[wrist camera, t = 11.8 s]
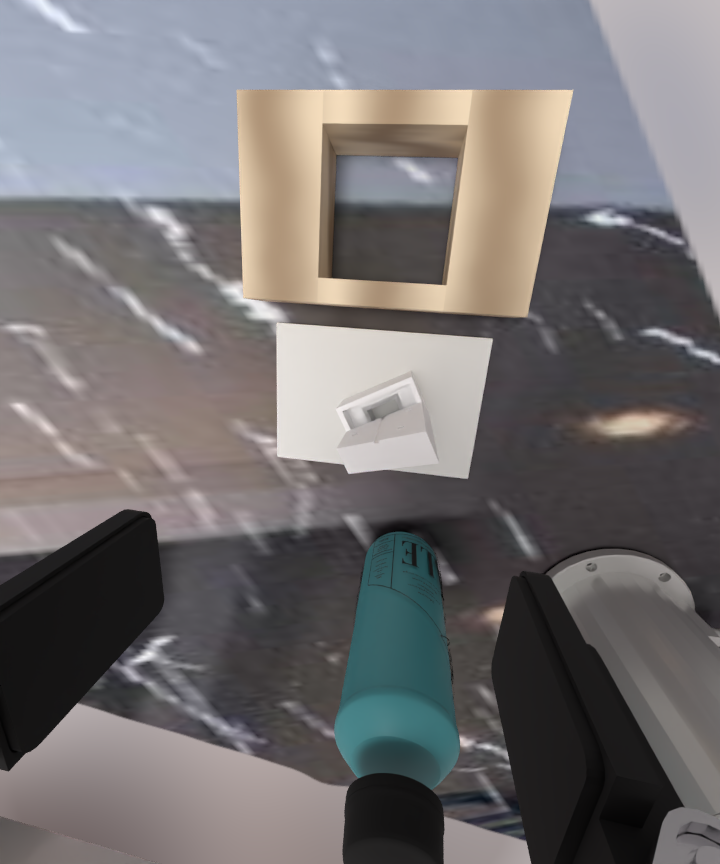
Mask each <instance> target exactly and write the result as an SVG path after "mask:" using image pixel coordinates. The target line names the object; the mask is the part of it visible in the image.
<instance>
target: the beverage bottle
mask: <svg viewBox="0 0 720 864" xmlns="http://www.w3.org/2000/svg"><path fill="white" fill-rule="evenodd" d="M433 551H434V550H432V549H431V547H430V546H429V545H428V544H427V542H425V541H424V540H423V539H422V538H420V537H418V536H416V535H414V534H411V533H407V532H392V533H388V534H385V535H383V536H381V537H379V538H378V539H377V540H376V541H375V542H374V543H373V544H372V545H371V547H370V548H369V550H368V552H367V555H366V559H365V565H364V568H363V567H362V568H363V570H364V571H363V572H361V574H362V573H363V574H362V575H363V577H362V575H361V577H362V580H361V583H360V585H361V588H360V591H359V593H360V594H359V599H358V594H357V600H358V605H357V607H356V610H357V611H356V613H355V614H356V620H355V626H354V631H353V637H352V642H351V648H350V653H349V658H348V664H347V669H346V675H345V680H344V686H343V691H342V696H341V702H340V707H339V711H338V714H337V717H336V721H335V727H334V733H335V739H336V743H337V746H338V748H339V750H340V752H341V754H342V756H343V758H344V759H345V761H346V762H347V764H348V765H349V767H350V768H351V769H352V771H353V772H354V773H355V775H356V776H357V777H358V778H359V779H357V780H355V781H354V782H353V783H352V784H351V785H350V787H349V788H348V791H347V795H346V803H345V826H344V838H343V862H344V864H444V861H443V835H444V814H443V807H442V804H441V801H440V800H439V798H438V797H437V795H436V794H435V793H434V792H433V791H432V789H433V788H435V787H436V786H437V785H438V784H439V783H440V782H441V781H442V780H443V779H444V778H445V777H446V776H447V775H448V774H449V773H450V771H451V770H452V768H453V767H454V765H455V764H456V762H457V759H458V756H459V751H460V739H459V733H458V729H457V726H456V718H455V710H454V702H453V699H454V697H453V694H452V685H453V681H452V676H453V674H452V673H451V672H450V669H451V668H450V665H451V664H452V663H449V661H450V660H451V661H452V658H451V659H450V660H449V657H451V655H448V653H449V652H448V647H447V646H448V645H449V644H448V645H447V639H448V638H447V637H446V631H445V622H446V621H445V622H444V619H445V620H446V618H444V614H443V608H444V607H443V605H442V598H443V594H441V590H442V581H440V577H441V574H440V572H439V570H438V564H437V560H438V559H436V558H438V557H436V556H437V555H436V556H435V554H436V553H435V554H434V552H433ZM439 565H440V564H439ZM439 574H440V576H439ZM440 587H441V588H440ZM442 593H443V592H442ZM443 600H444V598H443ZM356 603H357V602H356ZM448 640H449V639H448ZM449 643H450V642H449ZM449 651H450V650H449ZM450 654H451V653H450ZM451 671H452V672H453V669H451ZM451 681H452V684H451Z"/></svg>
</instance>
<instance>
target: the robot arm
mask: <svg viewBox="0 0 720 864" xmlns="http://www.w3.org/2000/svg"><path fill="white" fill-rule="evenodd" d="M163 603H164V593H163V584H162V575H161V566H160V558H159V549H158V540H157V531H156V523H155V521H154V520H153V519H152V518H151V515H150V514H149V513H147V512H142V511H136V510H129V509H127V510H123V511H121V512H119V513H118V514H116V515H114V516H113V517H111V518H109V519H108V520H106V521H104V522H103V523H101V524H100V525H98V526H96V527H95V528H93V529H91V530H90V531H88V532H87V533H85V534H83V535H82V536H80V537H78V538H77V539H75V540H73V541H72V542H70V543H69V544H67V545H65V546H64V547H62V548H60V549H59V550H57V551H56V552H54V553H52V554H51V555H49V556H47V557H46V558H44V559H43V560H41V561H39V562H38V563H36V564H34V565H33V566H31V567H29V568H28V569H26V570H25V571H23V572H21V573H20V574H18V575H16V576H15V577H13V578H12V579H10V580H8V581H7V582H5V583H3V584H2V585H0V769H1V770H5V771H10V769H11V768H12V767H13V766H14V765H15V764H16V763H17V762H18V761H19V760H20V759H21V758H22V756H23V755H24V754H25V753H27V752H30V751H32V750H33V749H35V748H36V747H37V746H38V745H39V744H40V743H41V742H42V741H43V740H44V739H45V738H46V737H47V735H49V733H50V732H51V731H52V730H53V729H54V728H55V727H56V726H57V725H58V724H59V722H60V721H61V720H62V719H63V718H64V717H65V716H66V715H67V714H68V713H69V711H70V710H71V709H72V708H73V707H74V706H75V705H76V704H77V703H78V702H79V701H80V699H81V698H82V697H83V696H84V695H85V694H86V693H87V692H88V691H89V690H90V688H91V687H92V686H93V685H94V684H95V683H96V682H97V681H98V680H99V679H100V677H101V676H102V675H103V674H104V673H105V672H106V671H107V670H108V669H109V668H110V667H111V665H112V664H113V663H114V662H115V661H116V660H117V659H118V658H119V657H120V656H121V654H122V653H123V652H124V651H125V650H126V649H127V648H128V647H129V646H130V645H131V643H132V642H133V641H134V640H135V639H136V638H137V637H138V636H139V635H140V634H141V633H142V631H143V630H144V629H145V628H146V627H147V626H148V625H149V624H150V623H151V622H152V620H153V619H154V618H155V617H156V616H157V615H158V614H159V612H160V611H161V609H162V607H163ZM719 647H720V628H717V629H715V628H711V627H710V626H709V625H708V624H707V623H706V622H705V621H704V620H703V619H702V618H701V617H700V616H699V615H698V614H697V613H696V612H695V603H694V600H693V597H692V593H691V591H690V590H689V588H688V586H687V585H686V583H685V582H684V581H683V580H682V579H681V578H680V577H679V576H678V575H677V574H676V573H675V572H674V571H673V570H672V569H671V568H670V567H668V566H667V565H666V564H665V563H663V562H662V561H660V560H658V559H656V558H654V557H652V556H650V555H647V554H644V553H640V552H637V551H633V550H625V549H600V550H594V551H588V552H585V553H582V554H579V555H575V556H572V557H570V558H569V559H567V560H565V561H563V562H561V563H559V564H558V565H556V566H555V567H553V568H552V569H551V570H549V571H548V572H547V573H546V574H539V573H533V572H526V571H523V572H521V574H520V576H519V577H517V576H513V577H512V579H511V583H510V587H509V592H508V596H507V600H506V604H505V609H504V613H503V617H502V621H501V626H500V630H499V634H498V638H497V643H496V647H495V651H494V656H493V660H492V680H493V685H494V690H495V694H496V699H497V704H498V709H499V713H500V718H501V723H502V728H503V732H504V737H505V742H506V746H507V751H508V756H509V761H510V765H511V770H512V775H513V779H514V784H515V789H516V794H517V798H518V803H519V808H520V812H521V817H522V822H523V827H524V831H525V836H526V841H527V845H528V850H529V855H530V859H531V864H720V648H719ZM0 864H160V863H156V862H153V861H150V860H147V859H143V858H140V857H136V856H133V855H130V854H126V853H123V852H120V851H116V850H113V849H110V848H106V847H103V846H99V845H96V844H92V843H89V842H86V841H82V840H79V839H76V838H72V837H69V836H66V835H62V834H59V833H55V832H52V831H49V830H45V829H42V828H38V827H35V826H32V825H28V824H25V823H21V822H18V821H14V820H11V819H8V818H4V817H1V816H0Z"/></svg>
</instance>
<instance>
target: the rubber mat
mask: <svg viewBox="0 0 720 864" xmlns="http://www.w3.org/2000/svg"><path fill="white" fill-rule="evenodd" d="M492 341H493V339H492V338H479V337H466V336H452V335H439V334H425V333H412V332H399V331H385V330H372V329H358V328H345V327H331V326H318V325H304V324H291V323H277V457H285V458H293V459H302V460H310V461H319V462H327V463H336V464H343V461H342V459H341V457H340V455H339V453H338V451H337V449H336V448H337V447H338V445H339V443H340V442H341V440H342V438H343V436H344V435H345V433H346V430H345V428H344V426H343V424H342V422H341V419H340V417H339V415H338V413H337V411H336V408H337V406H338V405H339V404H340V403H341V402H342V401H343V399H346V398H348V397H350V396H353V395H355V394H357V393H360V392H362V391H364V390H367V389H369V388H371V387H374V386H376V385H379V384H381V383H383V382H386V381H388V380H390V379H393V378H395V377H397V376H400V375H402V374H404V373H407V372H409V371H412V373H413V375H414V378H415V380H416V383H417V385H418V388H419V390H420V393H421V395H422V398H423V400H424V402H425V405H426V407H427V410H428V412H429V415H430V420H431V425H432V430H433V435H434V440H435V445H436V450H437V455H438V459H439V463H438V464H429V465H421V466H412V467H404V468H395V469H387V470H396V471H404V472H413V473H421V474H430V475H438V476H447V477H455V478H464V479H468V476H469V470H470V464H471V459H472V453H473V448H474V442H475V436H476V431H477V425H478V420H479V414H480V408H481V403H482V397H483V392H484V386H485V380H486V375H487V369H488V364H489V358H490V352H491V347H492ZM371 410H372V412H373V415H374V417H375V419H377V418H380V417H382V416H385V415H387V414H390V413H392V412H395V411H397V410H400V409H399V407H398V404H397V402H396V399H394V400H392V401H390V402H387V403H385V404H382V405H380V406H377V407H375V408H373V409H371Z"/></svg>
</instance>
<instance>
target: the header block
mask: <svg viewBox="0 0 720 864" xmlns="http://www.w3.org/2000/svg"><path fill="white" fill-rule="evenodd" d="M572 94H573V90H237V115H238V146H239V177H240V207H241V238H242V269H243V298H247V299H254V300H261V301H270V302H285V303H299V304H314V305H329V306H344V307H358V308H373V309H388V310H403V311H417V312H432V313H447V314H462V315H476V316H491V317H506V318H516V317H527V315H528V310H529V305H530V300H531V295H532V290H533V285H534V280H535V275H536V270H537V266H538V261H539V256H540V251H541V246H542V241H543V236H544V231H545V226H546V221H547V216H548V211H549V207H550V202H551V197H552V192H553V187H554V182H555V177H556V172H557V167H558V162H559V157H560V153H561V148H562V143H563V138H564V133H565V128H566V123H567V118H568V113H569V108H570V103H571V98H572ZM337 155H353V156H402V157H450V158H458V164H457V172H456V180H455V187H454V195H453V203H452V211H451V218H450V226H449V234H448V242H447V249H446V257H445V265H444V273H443V280H442V285H432V284H415V283H398V282H381V281H365V280H348V279H332V257H333V232H334V206H335V181H336V156H337Z"/></svg>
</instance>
